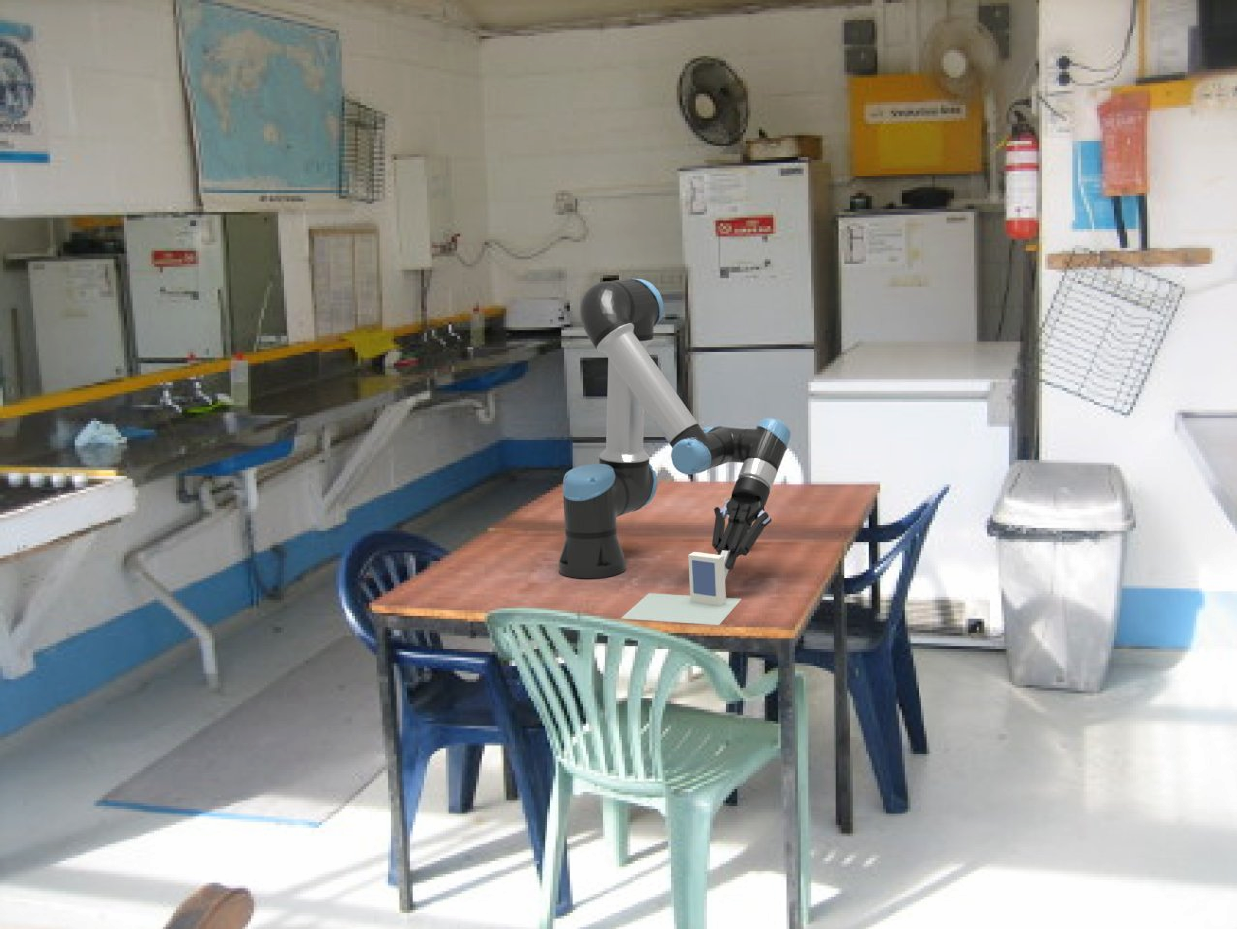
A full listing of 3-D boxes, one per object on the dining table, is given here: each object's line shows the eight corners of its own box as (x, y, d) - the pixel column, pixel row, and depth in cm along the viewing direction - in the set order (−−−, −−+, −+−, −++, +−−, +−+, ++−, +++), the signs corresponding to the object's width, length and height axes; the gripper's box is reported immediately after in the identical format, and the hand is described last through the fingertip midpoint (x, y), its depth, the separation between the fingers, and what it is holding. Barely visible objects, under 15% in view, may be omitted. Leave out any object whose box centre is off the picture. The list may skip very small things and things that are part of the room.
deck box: (719, 606, 268) (717, 558, 266) (690, 602, 272) (687, 555, 269) (726, 602, 270) (724, 555, 268) (696, 598, 274) (694, 551, 271)
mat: (620, 621, 262) (620, 618, 262) (649, 595, 279) (648, 593, 279) (718, 628, 256) (718, 625, 256) (741, 601, 272) (741, 598, 272)
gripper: (787, 497, 281) (752, 594, 270) (733, 492, 288) (696, 586, 278) (775, 477, 275) (738, 575, 265) (720, 472, 282) (682, 568, 272)
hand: (717, 581), depth 271 cm, fingers closed
